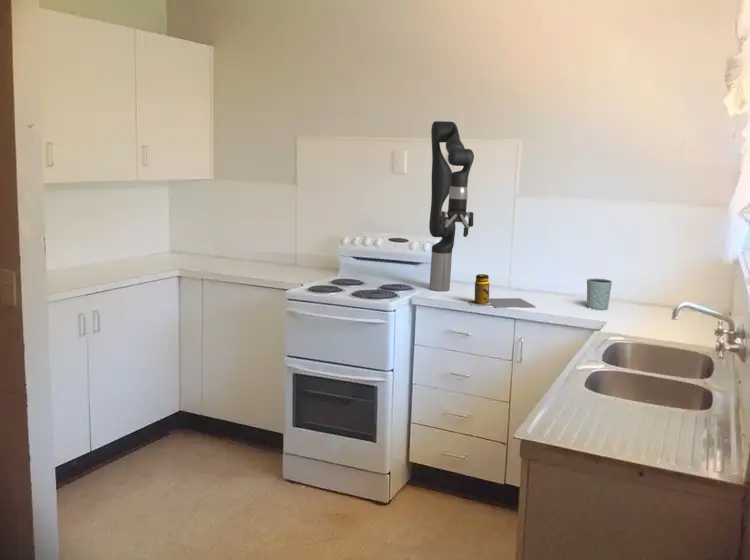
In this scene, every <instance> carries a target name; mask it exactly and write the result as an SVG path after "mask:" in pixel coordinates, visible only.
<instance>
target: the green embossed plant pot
mask: <svg viewBox="0 0 750 560" xmlns="http://www.w3.org/2000/svg"><path fill="white" fill-rule="evenodd" d="M612 283H613V281H612V280H610V279H605V278H595V277H594V278H593V277H592V278H588V279H586V308H587V307H588V308H587V309H589V308H591V309H590V310H593V309H595V311H607V310H608V309H609V304H610V297H611V290H612Z"/></svg>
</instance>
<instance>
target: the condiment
mask: <svg viewBox="0 0 750 560" xmlns="http://www.w3.org/2000/svg"><path fill="white" fill-rule="evenodd" d="M489 278H490V277H489V275H488V274H483V273H479V274H476V275H475V282H474V300H467V302H468V303H469V304H470V305H471V306H476V305H477V306H478V305H482V306H483V305H484V306H486V305H487V306H488V305H490V304H491V303H489V299H490V281H489ZM490 306H491V305H490Z"/></svg>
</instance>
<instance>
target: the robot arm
mask: <svg viewBox="0 0 750 560" xmlns="http://www.w3.org/2000/svg"><path fill="white" fill-rule="evenodd" d="M430 133H431V155H432V156H431V157H432V158H431V201H430V202H431V203H430V204H431V205H430V212H429V223H428V224H429V225H428V230H429V233H430V235H431V236H432V237H433V238H441V239H440V240H439V242H436V243H434V244H433V245H432V247H431V256H430V274H429V275H430V276H429V290H431V291H439V292H446V291H447V292H448V291H450V288H451V275H452V274H451V272H452V258H453V257H452V255H453V249H454V246H455V245H454V244H455V237H456V229H457V228H456V223H461V224H462V225H463V226H464V227H463V233H462V235H463V237H464V238H467V236H468V235H469V229H470V228H471V227H474V212H472V211H468V212H467V207H468V205H467V204H468V183H469V182H468V181H469V175H470V172H471V168H472V165H473V162H474V160H475V159H474V158H475V154H474V151H473V150H472V149H471V148H465V146H464V144H463V143H462V141H461V139H460V133H459V130H458V125H457V124H456V123H455V122H454V121H444V120H443V121H442V120H441V121H440V120H437V121H434V122H432V125H431V131H430ZM441 143H445V150H446V151H447V153H448V154H447V160H446V158H445V156H444V155H443V152H442V149H441ZM450 165H451V166H456V167H462V168H461V170H459V171H452V169H451V167H450ZM447 198H448V202H447V203H448V205H447V211H443V205H444V203H445V201H446V199H447ZM466 217H468V222H467V220H466Z"/></svg>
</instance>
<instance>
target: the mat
mask: <svg viewBox="0 0 750 560" xmlns="http://www.w3.org/2000/svg"><path fill="white" fill-rule="evenodd" d="M489 303H491V304H490V306H492V307H493V308H496V309H497V308H498V309H499V308H501V309H504V308H505V309H506V308H507V307H520V308H537V306H536V305H533V304H532V303H530V302H528V301H526V300H524V299H522V298H519V297H518V298H515V297H514V298H512V297H511V298H509V297H508V298H501V297H500V298H498V297H497V298H492V297H491V298H490V297H489Z"/></svg>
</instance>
